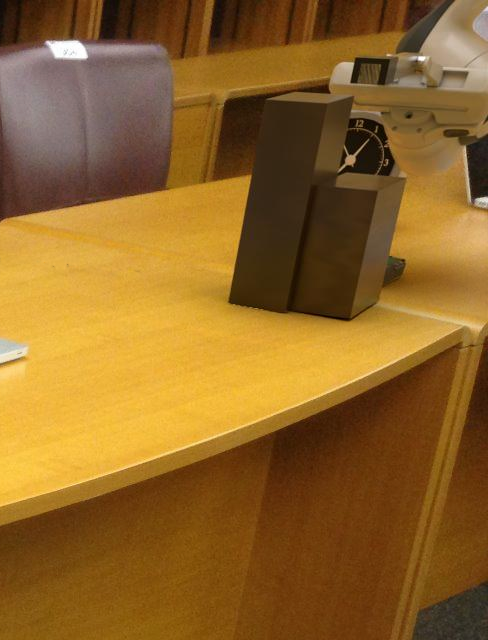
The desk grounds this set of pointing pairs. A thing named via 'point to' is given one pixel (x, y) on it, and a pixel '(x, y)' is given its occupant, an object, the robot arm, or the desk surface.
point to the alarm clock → (367, 147)
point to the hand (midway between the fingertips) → (406, 60)
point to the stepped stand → (312, 215)
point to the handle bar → (383, 68)
